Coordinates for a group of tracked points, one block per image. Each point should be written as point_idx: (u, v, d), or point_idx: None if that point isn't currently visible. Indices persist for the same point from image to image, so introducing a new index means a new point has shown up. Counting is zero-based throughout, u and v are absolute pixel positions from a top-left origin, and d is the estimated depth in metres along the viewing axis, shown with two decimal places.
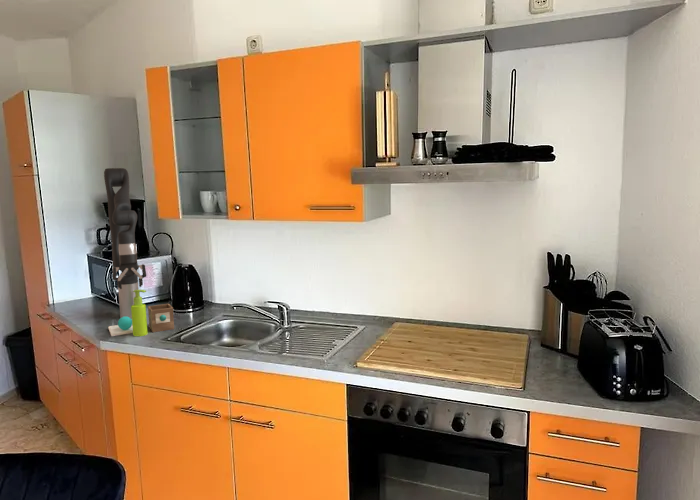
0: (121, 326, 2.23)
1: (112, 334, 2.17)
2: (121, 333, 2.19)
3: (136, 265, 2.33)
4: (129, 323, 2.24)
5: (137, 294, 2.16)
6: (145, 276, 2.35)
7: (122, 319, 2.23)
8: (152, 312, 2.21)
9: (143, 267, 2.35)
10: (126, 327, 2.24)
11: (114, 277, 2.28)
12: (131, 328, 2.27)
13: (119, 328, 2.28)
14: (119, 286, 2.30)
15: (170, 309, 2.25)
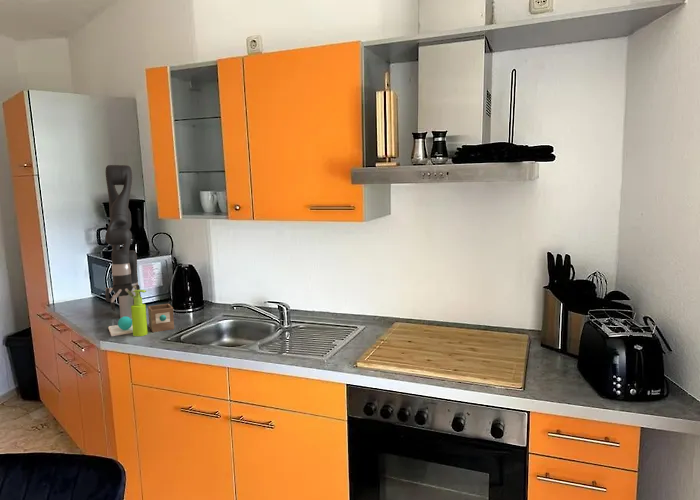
0: (121, 326, 2.23)
1: (112, 334, 2.17)
2: (121, 333, 2.19)
3: (130, 286, 2.24)
4: (129, 323, 2.24)
5: (137, 294, 2.16)
6: None
7: (122, 319, 2.23)
8: (152, 312, 2.21)
9: (137, 288, 2.25)
10: (126, 327, 2.24)
11: (107, 298, 2.19)
12: (131, 328, 2.27)
13: (119, 328, 2.28)
14: (112, 308, 2.21)
15: (170, 309, 2.25)
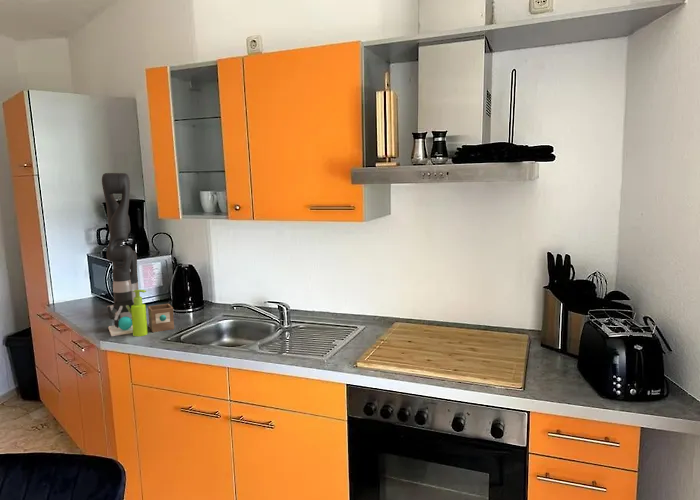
0: (121, 326, 2.23)
1: (112, 334, 2.17)
2: (121, 333, 2.19)
3: (131, 302, 2.25)
4: (129, 323, 2.24)
5: (137, 294, 2.16)
6: None
7: (122, 319, 2.23)
8: (152, 312, 2.21)
9: None
10: (126, 327, 2.24)
11: (111, 316, 2.21)
12: (131, 328, 2.27)
13: (119, 328, 2.28)
14: (116, 325, 2.23)
15: (170, 309, 2.25)
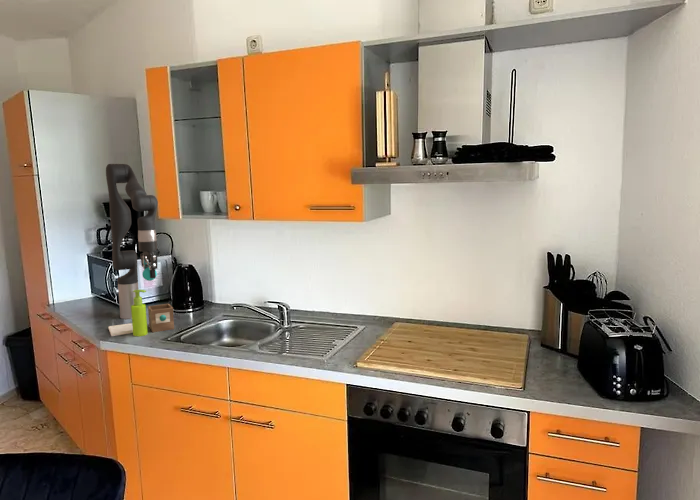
0: None
1: (112, 334, 2.17)
2: (121, 333, 2.19)
3: (148, 254, 2.20)
4: (145, 274, 2.21)
5: (137, 294, 2.16)
6: (151, 268, 2.18)
7: (144, 269, 2.23)
8: (152, 312, 2.21)
9: (151, 258, 2.18)
10: (144, 278, 2.22)
11: (141, 263, 2.27)
12: (131, 328, 2.27)
13: (119, 328, 2.28)
14: None
15: (170, 309, 2.25)
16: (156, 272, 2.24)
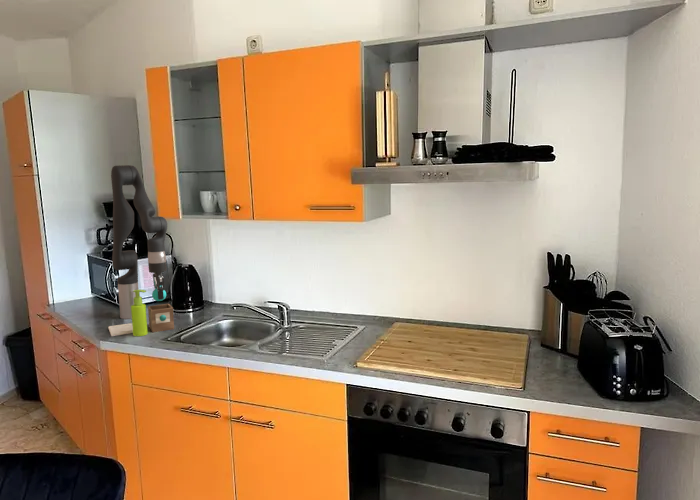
0: None
1: (112, 334, 2.17)
2: (121, 333, 2.19)
3: (156, 275, 2.21)
4: (153, 295, 2.23)
5: (137, 294, 2.16)
6: (158, 290, 2.20)
7: None
8: (152, 312, 2.21)
9: (157, 280, 2.19)
10: (153, 298, 2.25)
11: None
12: (131, 328, 2.27)
13: (119, 328, 2.28)
14: None
15: (170, 309, 2.25)
16: (165, 293, 2.26)
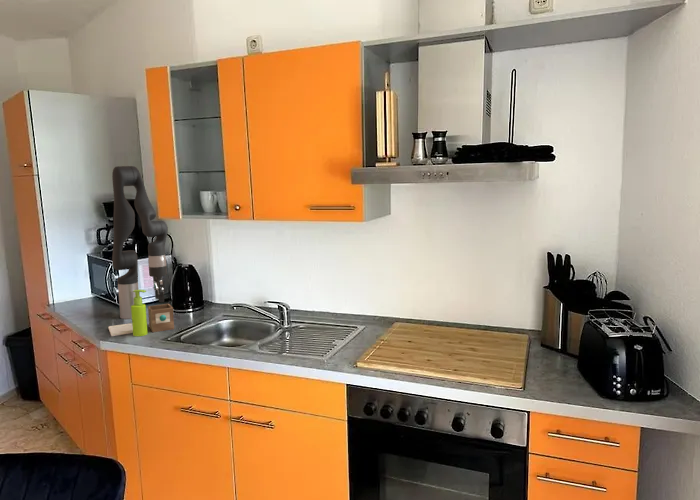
0: None
1: (112, 334, 2.17)
2: (121, 333, 2.19)
3: (157, 279, 2.22)
4: None
5: (137, 294, 2.16)
6: (159, 293, 2.19)
7: None
8: (152, 312, 2.21)
9: (158, 283, 2.19)
10: None
11: None
12: (131, 328, 2.27)
13: (119, 328, 2.28)
14: None
15: (170, 309, 2.25)
16: None
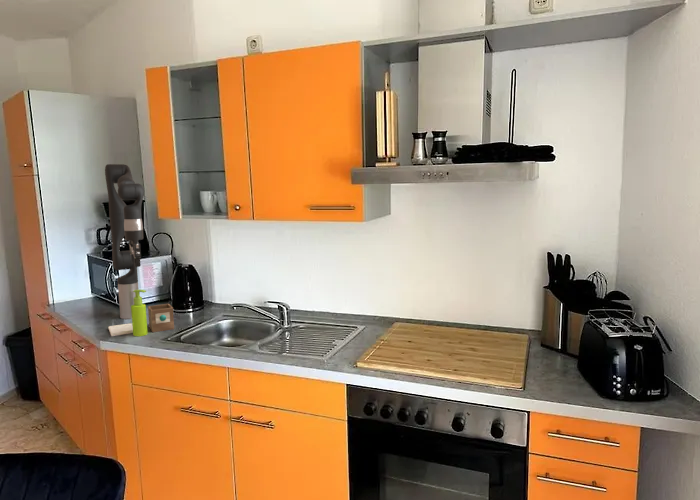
0: None
1: (112, 334, 2.17)
2: (121, 333, 2.19)
3: (133, 243, 2.18)
4: None
5: (137, 294, 2.16)
6: (135, 257, 2.15)
7: None
8: (152, 312, 2.21)
9: (134, 247, 2.15)
10: None
11: (130, 251, 2.26)
12: (131, 328, 2.27)
13: (119, 328, 2.28)
14: None
15: (170, 309, 2.25)
16: None
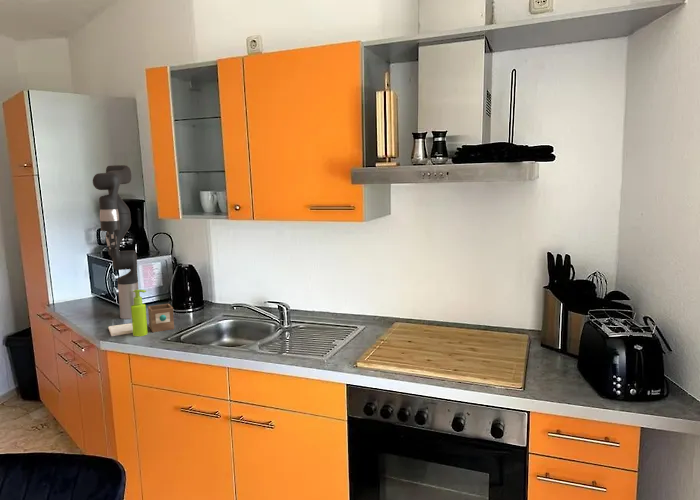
0: None
1: (112, 334, 2.17)
2: (121, 333, 2.19)
3: (108, 233, 2.15)
4: None
5: (137, 294, 2.16)
6: (110, 247, 2.13)
7: None
8: (152, 312, 2.21)
9: (109, 237, 2.13)
10: None
11: None
12: (131, 328, 2.27)
13: (119, 328, 2.28)
14: (109, 252, 2.23)
15: (170, 309, 2.25)
16: None
